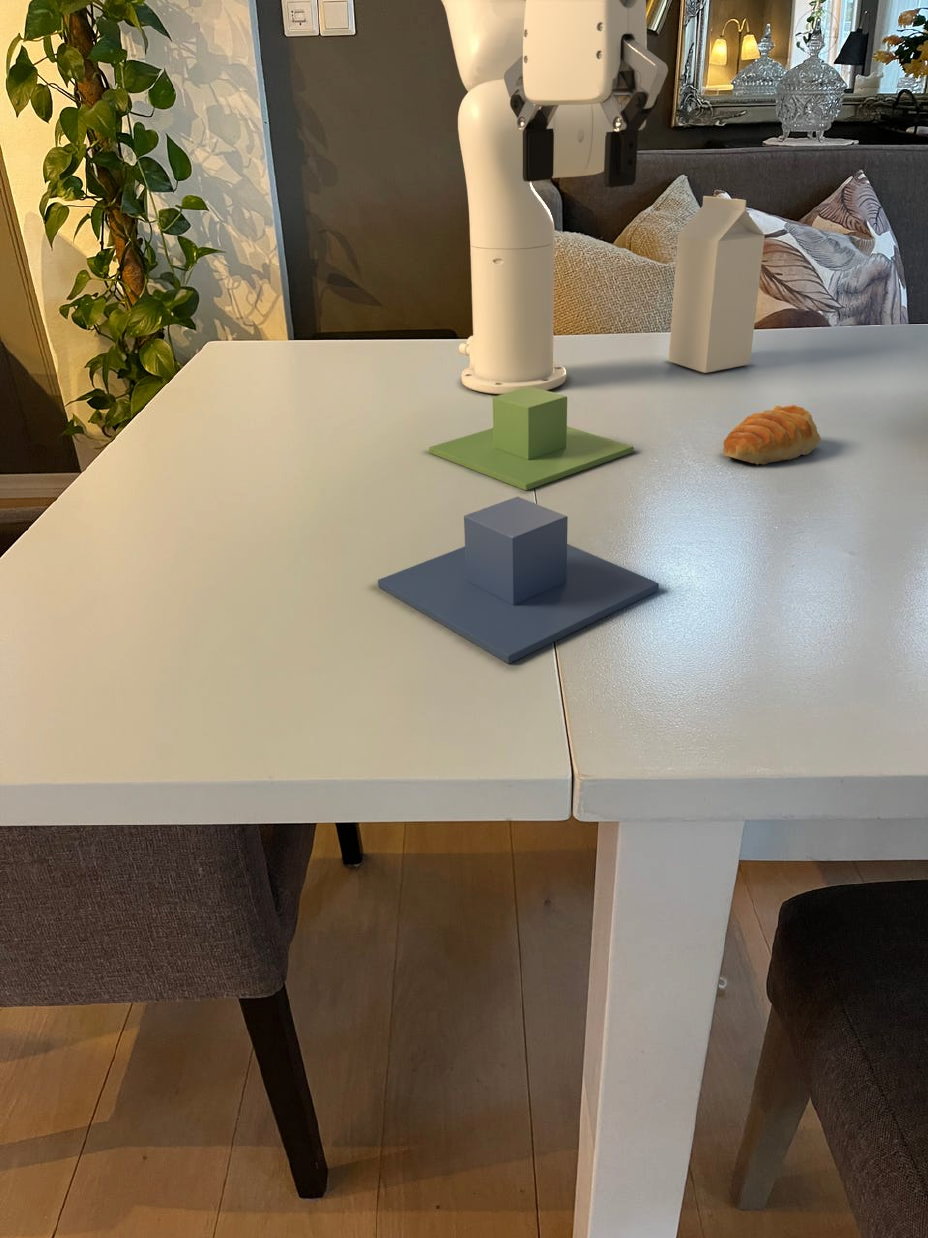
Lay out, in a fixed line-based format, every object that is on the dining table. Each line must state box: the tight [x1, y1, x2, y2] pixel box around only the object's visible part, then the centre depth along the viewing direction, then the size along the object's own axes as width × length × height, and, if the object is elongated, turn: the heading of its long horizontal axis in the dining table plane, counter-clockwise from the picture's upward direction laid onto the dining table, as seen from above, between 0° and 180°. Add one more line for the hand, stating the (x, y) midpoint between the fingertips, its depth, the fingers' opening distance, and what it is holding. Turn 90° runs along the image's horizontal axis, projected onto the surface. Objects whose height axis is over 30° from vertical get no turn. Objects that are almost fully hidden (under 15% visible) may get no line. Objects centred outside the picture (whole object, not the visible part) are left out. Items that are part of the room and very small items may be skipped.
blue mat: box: [377, 543, 660, 665], centre depth 65 cm, size 14×14×1 cm
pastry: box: [723, 404, 821, 466], centre depth 86 cm, size 9×7×4 cm
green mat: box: [428, 425, 634, 492], centre depth 89 cm, size 14×14×1 cm
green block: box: [492, 386, 568, 460], centre depth 88 cm, size 5×5×5 cm
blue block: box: [463, 496, 569, 605], centre depth 63 cm, size 5×5×5 cm
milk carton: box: [668, 195, 766, 374], centre depth 110 cm, size 7×7×19 cm
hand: (577, 182), depth 79 cm, fingers open, 9 cm apart
